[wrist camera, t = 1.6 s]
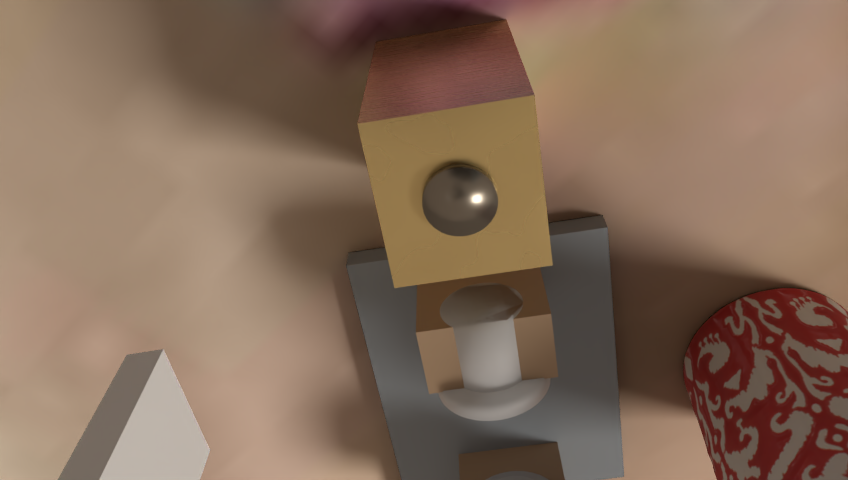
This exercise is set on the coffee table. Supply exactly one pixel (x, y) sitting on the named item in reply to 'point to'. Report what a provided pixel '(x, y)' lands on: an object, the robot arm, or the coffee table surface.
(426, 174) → the coupler
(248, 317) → the coffee table surface
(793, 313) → the mug
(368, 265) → the shaft bench
